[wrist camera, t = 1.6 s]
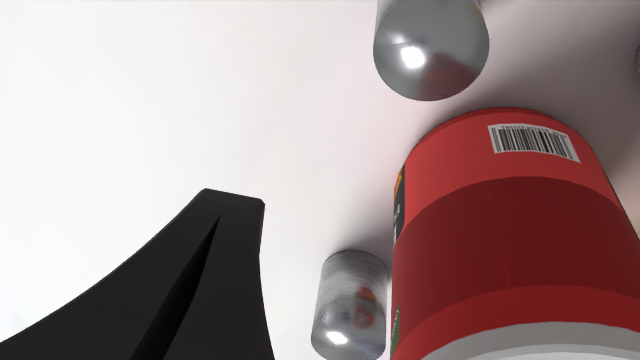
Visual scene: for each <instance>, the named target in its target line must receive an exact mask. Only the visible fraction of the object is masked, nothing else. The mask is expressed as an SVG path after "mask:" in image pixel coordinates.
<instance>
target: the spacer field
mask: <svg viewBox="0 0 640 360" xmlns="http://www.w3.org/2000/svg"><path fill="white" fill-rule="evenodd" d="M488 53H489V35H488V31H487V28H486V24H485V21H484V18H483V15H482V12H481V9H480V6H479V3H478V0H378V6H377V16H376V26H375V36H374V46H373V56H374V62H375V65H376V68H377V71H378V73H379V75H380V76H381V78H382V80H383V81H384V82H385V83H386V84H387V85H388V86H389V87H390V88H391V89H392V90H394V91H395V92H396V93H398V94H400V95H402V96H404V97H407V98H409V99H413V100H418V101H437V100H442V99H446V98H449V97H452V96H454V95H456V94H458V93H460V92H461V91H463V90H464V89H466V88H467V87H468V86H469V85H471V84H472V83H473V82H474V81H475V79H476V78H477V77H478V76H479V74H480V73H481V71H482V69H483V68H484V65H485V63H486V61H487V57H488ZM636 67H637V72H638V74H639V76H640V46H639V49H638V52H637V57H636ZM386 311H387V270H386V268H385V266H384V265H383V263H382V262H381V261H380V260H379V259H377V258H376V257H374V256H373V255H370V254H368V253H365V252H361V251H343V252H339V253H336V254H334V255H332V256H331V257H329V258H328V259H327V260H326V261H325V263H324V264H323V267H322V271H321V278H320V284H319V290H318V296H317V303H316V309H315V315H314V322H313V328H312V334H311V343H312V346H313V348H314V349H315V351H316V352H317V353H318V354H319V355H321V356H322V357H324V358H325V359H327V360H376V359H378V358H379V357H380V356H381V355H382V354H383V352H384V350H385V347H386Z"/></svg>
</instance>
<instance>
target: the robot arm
mask: <svg viewBox="0 0 640 360" xmlns="http://www.w3.org/2000/svg"><path fill="white" fill-rule="evenodd" d="M264 210H265V203H264V202H263V201H262V200H261V199H258V198H253V197H248V196H243V195H238V194H233V193H227V192H222V191H217V190H212V189H207V188H205V189H203V190H202V191H200V192H199V193H198V194H197V195H196V196H195V197H194V198H193V199H192V200H191V201H190V203H189V204H188V205H187V206H186V207H185V208H184V209H183V210H182V211H181V212H180V213H179V214H178V215H177V216H176V217H175V218H173V219H172V220H171V221H170V222H169V223H168V224H167V225H166V226H165V227H164V228H163V229H162V230H161V231H160V232H158V233H157V234H156V235H155V236H154V237H153V238H152V239H151V240H150V241H148V242H147V243H146V244H145V245H144V246H143V247H142V248H141V249H139V250H138V251H137V252H136V253H135V254H133V255H132V256H131V257H130V258H128V259H127V260H126V261H125V262H123V263H122V264H121V265H120V266H118V267H117V268H116V269H115V270H113V271H112V272H111V273H110V274H108V275H107V276H106V277H104V278H103V279H102V280H100V281H99V282H97V283H96V284H95V285H93V286H92V287H91V288H89V289H88V290H86V291H85V292H83V293H82V294H80V295H79V296H77V297H76V298H75V299H73V300H72V301H70V302H69V303H67V304H66V305H64V306H62V307H61V308H59V309H58V310H56V311H54V312H53V313H51V314H49V315H48V316H46V317H45V318H43V319H41V320H40V321H38V322H36V323H35V324H33V325H31V326H30V327H28V328H26V329H24V330H23V331H21V332H19V333H17V334H16V335H14V336H12V337H10V338H8V339H6V340H4V341H2V342H0V360H275V358H274V354H273V350H272V346H271V341H270V337H269V332H268V327H267V322H266V316H265V310H264V303H263V296H262V288H261V278H260V262H259V253H260V244H261V236H262V227H263V219H264Z"/></svg>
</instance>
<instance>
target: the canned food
mask: <svg viewBox="0 0 640 360" xmlns="http://www.w3.org/2000/svg"><path fill="white" fill-rule="evenodd" d="M390 360H640V240H639V238H638V236H637V234H636V232H635V230H634V228H633V226H632V224H631V222H630V220H629V218H628V216H627V214H626V212H625V210H624V208H623V206H622V205H621V203H620V201H619V199H618V197H617V195H616V193H615V191H614V189H613V187H612V185H611V183H610V181H609V179H608V177H607V175H606V173H605V171H604V170H603V168H602V166H601V164H600V162H599V160H598V158H597V156H596V155H595V153H594V151H593V150H592V148H591V146H590V145H589V144H588V143H587V142H586V141H585V140H584V139H583V138H582V137H581V136H580V135H579V134H578V133H577V132H576V131H574V130H573V129H571V128H570V127H568V126H567V125H565V124H563V123H562V122H560V121H558V120H556V119H555V118H553V117H551V116H549V115H546V114H543V113H540V112H537V111H534V110H529V109H522V108H516V107H495V108H488V109H482V110H476V111H472V112H469V113H466V114H463V115H460V116H457V117H454V118H452V119H450V120H449V121H447V122H445V123H443V124H441V125H439V126H437V127H436V128H435V129H433V130H432V131H431V132H430V133H428V134H427V135H426V136H424V137H423V138H422V139H421V140H420V142H419V143H418V144H417V145H416V146H415V147H414V148H413V149H412V151H411V153H410V154H409V156H408V158H407V160H406V161H405V163H404V165H403V167H402V168H401V170H400V172H399V174H398V178H397V181H396V184H395V188H394V225H393V266H392V307H391V348H390Z"/></svg>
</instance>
